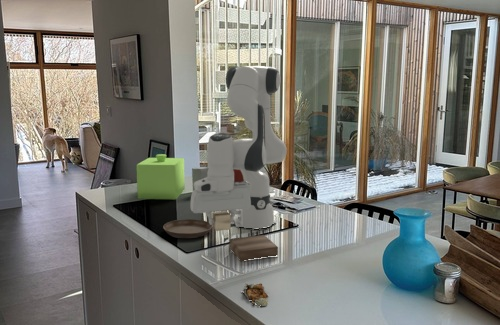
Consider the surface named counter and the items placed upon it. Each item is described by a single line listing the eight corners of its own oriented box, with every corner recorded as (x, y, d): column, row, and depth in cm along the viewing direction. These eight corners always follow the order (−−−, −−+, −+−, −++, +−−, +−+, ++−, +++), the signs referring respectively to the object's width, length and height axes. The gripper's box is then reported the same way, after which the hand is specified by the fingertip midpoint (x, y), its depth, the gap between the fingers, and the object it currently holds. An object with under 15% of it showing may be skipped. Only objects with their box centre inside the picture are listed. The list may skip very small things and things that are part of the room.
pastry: (254, 309, 126) (254, 297, 126) (239, 292, 137) (239, 281, 136) (276, 305, 129) (276, 293, 128) (259, 288, 140) (259, 277, 139)
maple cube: (212, 226, 154) (212, 212, 153) (226, 225, 156) (226, 211, 155) (216, 231, 149) (215, 216, 148) (230, 229, 151) (230, 215, 150)
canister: (149, 189, 275) (148, 151, 272) (184, 189, 274) (183, 151, 270) (137, 198, 251) (136, 157, 247) (175, 199, 250) (174, 158, 246)
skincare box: (201, 196, 256) (201, 169, 253) (191, 195, 259) (191, 168, 257) (210, 193, 263) (210, 167, 260) (200, 192, 266) (199, 165, 264)
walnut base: (229, 248, 173) (229, 238, 172) (263, 244, 177) (264, 234, 177) (241, 261, 160) (241, 251, 159) (277, 257, 164) (277, 246, 164)
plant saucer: (205, 223, 206) (204, 216, 205) (218, 237, 187) (218, 229, 186) (159, 228, 198) (159, 221, 198) (168, 243, 179) (168, 235, 179)
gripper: (247, 179, 156) (247, 217, 158) (188, 183, 149) (189, 223, 152) (253, 182, 150) (253, 222, 153) (192, 187, 144) (193, 229, 146)
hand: (221, 223), depth 152 cm, fingers closed on maple cube, 5 cm apart
